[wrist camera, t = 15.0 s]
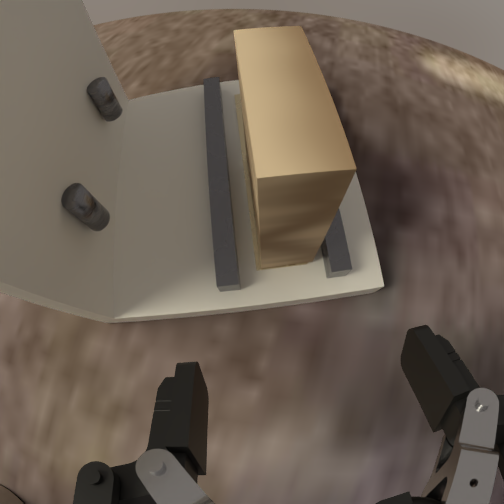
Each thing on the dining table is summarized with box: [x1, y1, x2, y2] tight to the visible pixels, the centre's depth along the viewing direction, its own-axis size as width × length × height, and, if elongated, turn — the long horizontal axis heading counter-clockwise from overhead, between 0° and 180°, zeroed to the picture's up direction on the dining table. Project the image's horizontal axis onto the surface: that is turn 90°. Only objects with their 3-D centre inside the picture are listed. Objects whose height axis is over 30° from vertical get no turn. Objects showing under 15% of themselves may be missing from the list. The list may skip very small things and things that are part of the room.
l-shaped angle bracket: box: [0, 0, 384, 323], centre depth 14 cm, size 18×18×18 cm
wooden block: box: [234, 26, 357, 268], centre depth 15 cm, size 3×9×10 cm, turn 7°
